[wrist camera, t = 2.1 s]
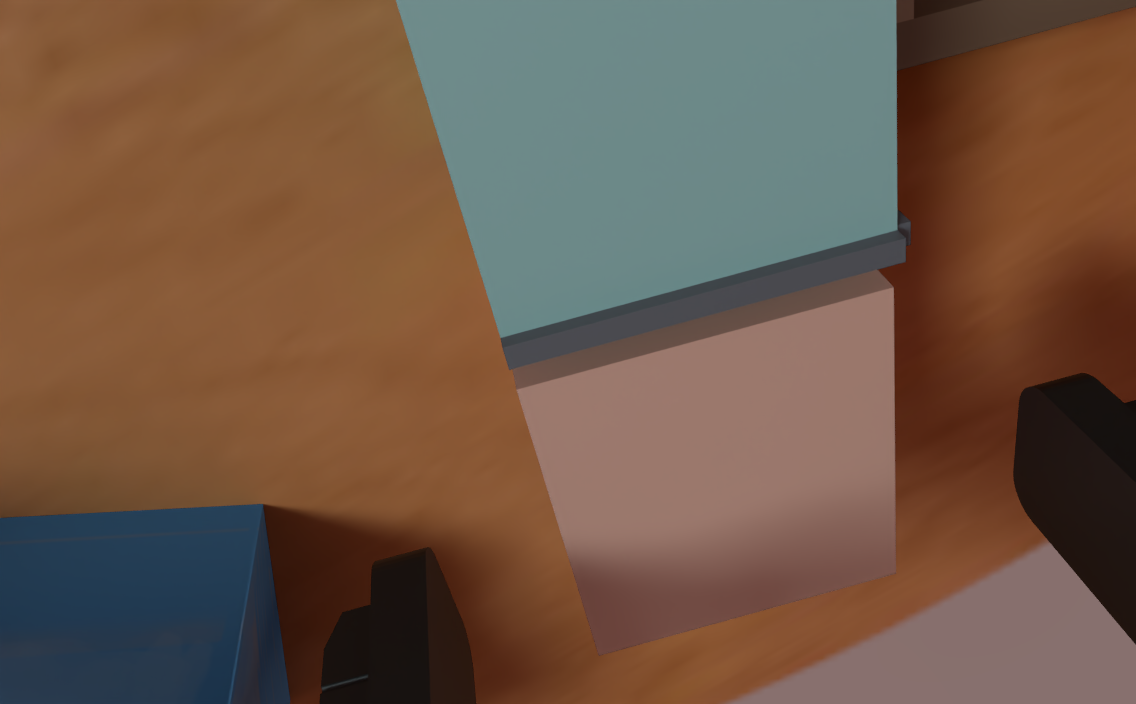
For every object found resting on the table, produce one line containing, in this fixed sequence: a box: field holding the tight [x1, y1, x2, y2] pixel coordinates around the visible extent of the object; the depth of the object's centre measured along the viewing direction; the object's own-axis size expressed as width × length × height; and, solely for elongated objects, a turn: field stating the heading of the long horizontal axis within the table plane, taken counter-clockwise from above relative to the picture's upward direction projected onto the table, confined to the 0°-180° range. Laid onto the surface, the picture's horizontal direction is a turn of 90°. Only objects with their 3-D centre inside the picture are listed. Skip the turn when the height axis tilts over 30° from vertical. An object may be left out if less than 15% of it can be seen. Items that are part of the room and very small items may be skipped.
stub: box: [513, 270, 896, 655], centre depth 14 cm, size 5×4×6 cm
